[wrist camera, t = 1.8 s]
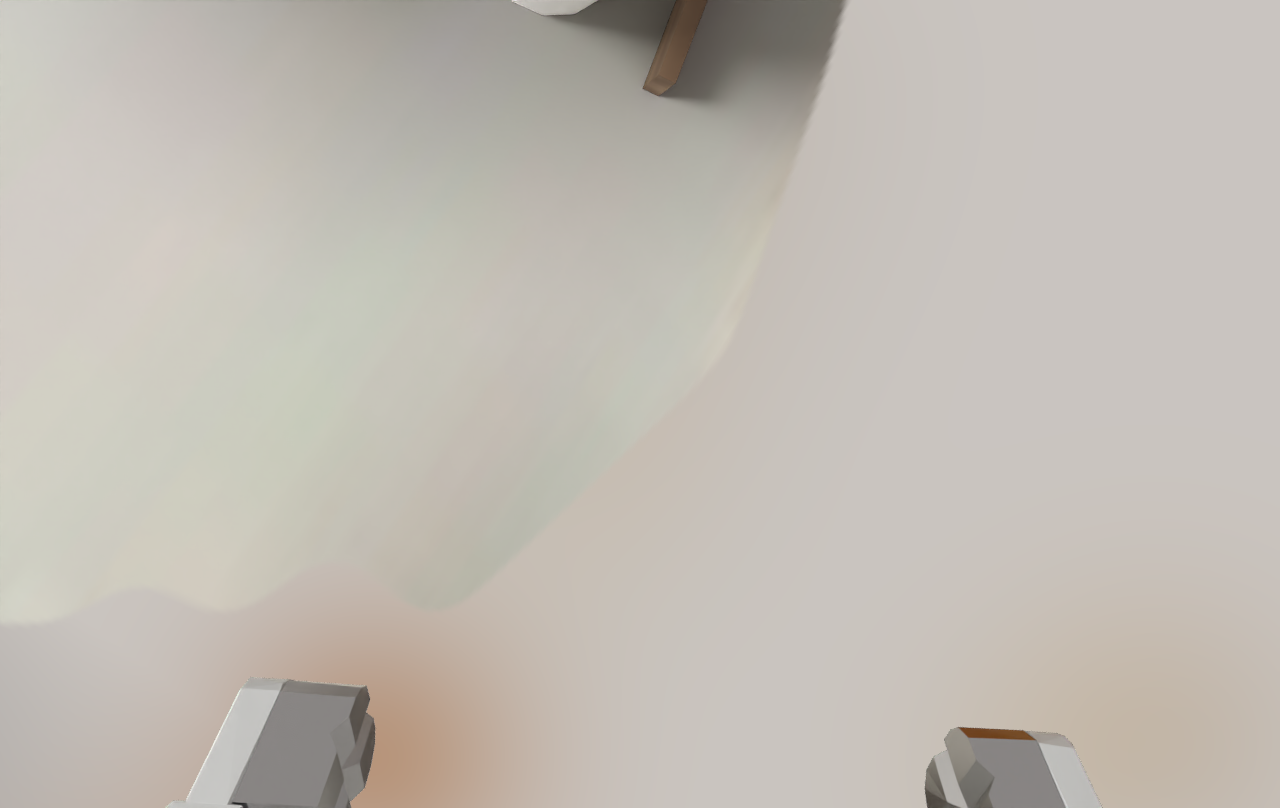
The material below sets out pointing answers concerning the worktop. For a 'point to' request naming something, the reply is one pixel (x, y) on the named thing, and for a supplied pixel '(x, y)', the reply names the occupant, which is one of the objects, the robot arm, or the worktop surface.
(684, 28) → the channel
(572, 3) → the foam cup
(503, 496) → the worktop surface
